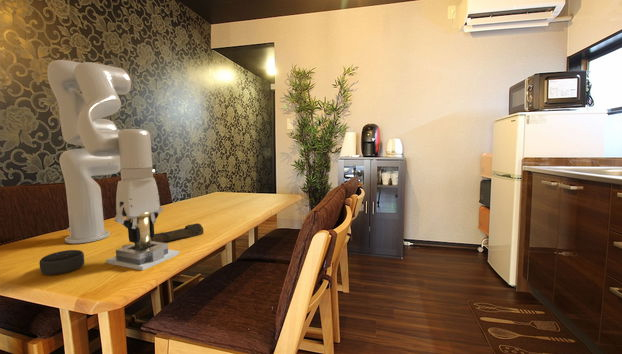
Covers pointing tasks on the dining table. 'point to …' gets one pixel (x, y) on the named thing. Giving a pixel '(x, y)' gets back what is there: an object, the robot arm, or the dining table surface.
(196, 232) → the hand tool
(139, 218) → the brass pin
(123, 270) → the dining table surface
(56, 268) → the smart speaker
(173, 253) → the board
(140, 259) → the grey holder fixture
